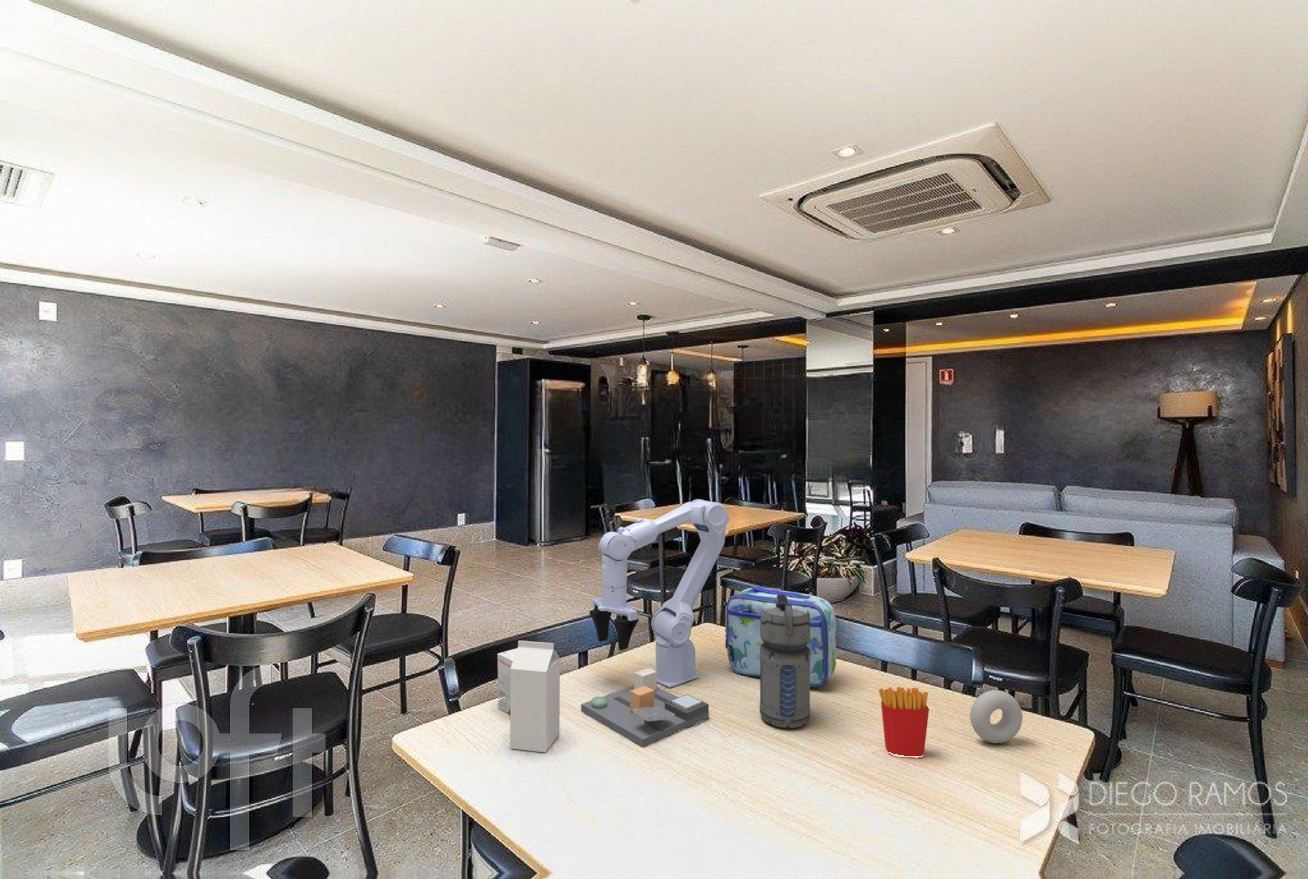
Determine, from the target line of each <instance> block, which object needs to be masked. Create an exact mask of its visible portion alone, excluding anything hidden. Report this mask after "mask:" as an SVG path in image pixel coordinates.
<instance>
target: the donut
mask: <svg viewBox="0 0 1308 879" xmlns="http://www.w3.org/2000/svg"><path fill="white" fill-rule="evenodd" d="M996 710H1000V711H1001V712H1002V713H1001V714H1002V715H1001V718H1000V720H999V721H998V722H996V723H991V716H992V714H993V712H995V711H996ZM969 717H970V723H971V727H972V729H973V730H974V732H975V734H977V736H979V738H980V739H981V740H983V741H986V742H988V743H990V744H997V743H1000V744H1003V743H1008V742H1009V741H1011V740H1012V739H1014V738H1015V736H1016V735H1018V734H1019V731H1020V730H1021V727H1022V724H1023V719H1024V718H1023V711H1022V708H1021V706H1020V704H1019V701H1017V700H1016V699H1015V697H1014V696H1012V695H1011V694H1009V693H1008V692H1005V691H1003V690H998V689H992V690H988V691H985V692H983V693H981V694H979V695H978V697H977V698H976V699H975V700H974V702H973V704H972V705H971V708H970V712H969Z"/></svg>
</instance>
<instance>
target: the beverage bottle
mask: <svg viewBox="0 0 1308 879" xmlns="http://www.w3.org/2000/svg"><path fill="white" fill-rule="evenodd" d="M775 604H776V608H772V609H769V610H766V611H764V609H762V611H761V619H760V637H761V638H762V640H763V641H764V643H763V644H761V646H760V677H759V678H760V679H759V680H760V681H759V682H760V683H759V685H760V686H759V689H760V690H759V694H760V698H759V713H760V715H761V718H762V719H763V721H764V722H766V723H767V724H769V725H772V726H774V727H778V728H783V729H797V728H801V727H803V726H805V725H806V724H808V721H809V719H810V717H811V698H810V697H811V687H810V649H809V648H808V647H807V646H806V645H807V644H808V642H809V641H810V613H809V611H807V613H804V612H801V611H799V610H796V609H792V604H789V603H788V599H787V597H786V596H785V595H784V594H779V595H777V598H776V600H775ZM787 727H789V728H787Z"/></svg>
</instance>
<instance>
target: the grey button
mask: <svg viewBox="0 0 1308 879" xmlns="http://www.w3.org/2000/svg"><path fill="white" fill-rule="evenodd" d="M684 695H685V696H683V695H681V696H682V697H681V696H679V697H680V698H677V699H675V700H672V704H673V705H675V706H677V707H679V708H681V709H683V710H685V711H688V710H690V709H693V708H695V707H698V706H700V705H702V700H701V701H699V700H700V699H699V700H697V699H698V698H696V697H694V698H693V696H692V697H691V695H690V696H688V695H689V694H687V695H686V694H684ZM695 698H696V699H695Z"/></svg>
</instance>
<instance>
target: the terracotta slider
mask: <svg viewBox="0 0 1308 879" xmlns="http://www.w3.org/2000/svg"><path fill="white" fill-rule="evenodd" d="M641 707H654V690H653V689H651V688H649V687H647V686H643V687H640V688H637V689H634V690H631V691H630V711H632V712H633V710H634V708H641Z"/></svg>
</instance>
